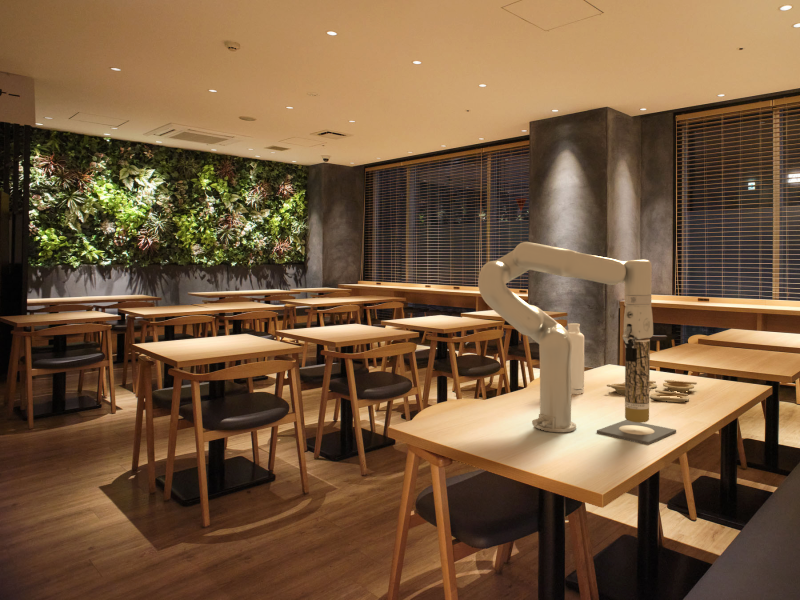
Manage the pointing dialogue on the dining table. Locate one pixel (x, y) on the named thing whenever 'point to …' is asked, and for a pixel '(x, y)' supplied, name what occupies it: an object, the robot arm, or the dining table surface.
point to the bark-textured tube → (638, 383)
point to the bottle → (577, 358)
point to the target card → (637, 431)
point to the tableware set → (671, 385)
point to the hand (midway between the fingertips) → (637, 359)
